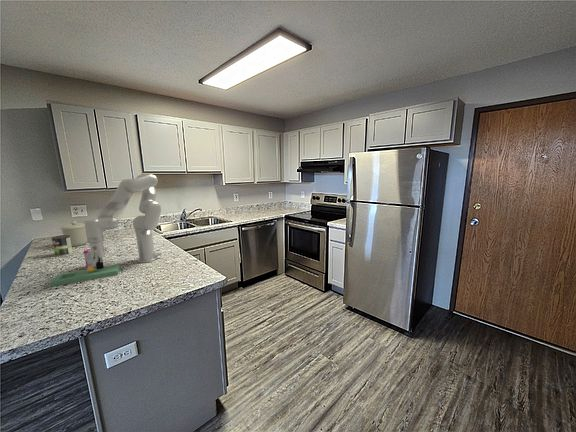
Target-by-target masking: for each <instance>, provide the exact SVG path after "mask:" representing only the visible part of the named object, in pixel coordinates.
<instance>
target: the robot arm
mask: <svg viewBox="0 0 576 432" xmlns="http://www.w3.org/2000/svg"><path fill="white" fill-rule="evenodd" d="M158 182H159V180H158V177H157V176H156V175H154V174H151V173H150V174H149V173H145V174H144V173H143V174H138V175H137V176H136V177H135V178H125V179H123V180H121V182H120V183H119V185H118V186H117V188H116V190H115V191H114V194H113V196H112V197H111V199H110V200H109V201H108V202H107V203H106V204H104V206H103V207H102V208H101V210H100V212H99V213H98V215H97V217H96V218H89V219H85V220H84V224H85V229H86V235H87V241H88V242H87V244H89V246H90V249H91V255H92V259H93V260H94V259H95V262H96V268H97V269H103V268H104V267H105V266H104V262H103V259H104V257H105V256H106V250H105V246H104V243H103V242H104V241H105V239H104V233H103V231H104V230H105V231H106V230H113V229H116V228H117V227H118V226H119V221H118V219H117V218H115V217H114V215H115V214H116V213H117V212H118V211H119V210H121V209H122V208H124V207H125V206H127V205H128V203H129V201H130V199H131V197H132V196H133V193H139V192H141V193H142V194H141V198H140V201H139V206H138V211H139V213H141V214H143V215H137V216H136V217H135V218H134V219H133V221H132V226H133V229H134V232H135V237H136V244H137V252H138V258H136V261H137V263H141V264H143V263H149V262H153V261H156V260H157V259H158V257H159V256H162V255H163V254H162V252H160V251H158V252H156V251H155V247H154V239H153V232H152V231H155V229H156V228H157V227H158V224H159V222H160V221H159V220H160V217H161V213H162V207H161V204H160V203H159V202H158V201H156V198H157V190H156V186H157V184H158Z"/></svg>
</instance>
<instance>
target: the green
mask: <svg viewBox="0 0 576 432" xmlns="http://www.w3.org/2000/svg"><path fill="white" fill-rule="evenodd" d="M120 270H121V264H120V263H118V264H113V265H107V266H104V268H103V269H97V268H96V269H95V271H93V272H88V271H87V269H84V270H83V269H81V270H76V271H70V272H64V273H59V274H57V275H56V276H55V277H54V278H53V279H52V280H51V281H50V282H49V283H50V287H57V286H60V285H61V286H62V285H68V284H72V283H79V282H84V281H89V280H95V279H96V280H97V279H100V278H106V277H112V276H117V275H119V273H120Z"/></svg>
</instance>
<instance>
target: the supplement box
mask: <svg viewBox="0 0 576 432" xmlns="http://www.w3.org/2000/svg"><path fill="white" fill-rule="evenodd" d="M83 255H84V260H85V266H86V267H85V268H86V269H87V268H88V266H91V265H93V266H95V267H96V262H95V259H94V260H93V259H92V255H91V248H90V249H85V250H83Z"/></svg>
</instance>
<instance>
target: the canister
mask: <svg viewBox="0 0 576 432" xmlns="http://www.w3.org/2000/svg"><path fill="white" fill-rule="evenodd" d="M60 230H61V231H62V234H63V235H70V240H71V245H72V247H80V246H83V245H87V244H88V241H87V235H86V229H85V223H78V221H75V220H73V221H71V224H66V225H64V226H62V227H60Z"/></svg>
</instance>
